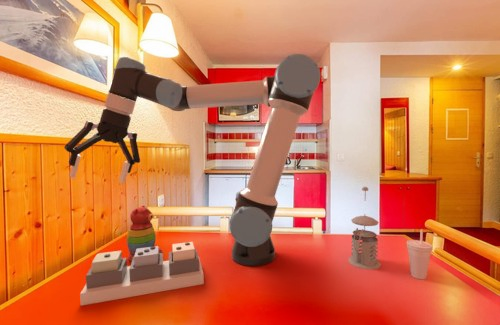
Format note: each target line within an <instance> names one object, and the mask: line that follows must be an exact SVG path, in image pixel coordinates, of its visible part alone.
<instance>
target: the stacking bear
mask: <svg viewBox="0 0 500 325" xmlns="http://www.w3.org/2000/svg"><path fill="white" fill-rule="evenodd" d="M153 217H154V215H153V212H152V211H151V210H150V209H149V208H148V207H145V205H142V206H140V207H135V208H134V209H132V211H131V213H130V216H129V218H130V221H131V223H132V224H131V225H130V226H129V228H128V231H127V236H126V245H127V247H128V252H129V254H128V257H127V260H128V261H129V262H131V263H132V259H133V257H134V255H135V252H136V249H138V248H146V247H154V246H155V245H156V244H155V243H156V236H157V235H156V231H155V229H154V225H153V223H152V222H151V221H152V220H153ZM159 253H163V250H162V249H161V247H159Z"/></svg>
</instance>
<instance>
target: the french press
mask: <svg viewBox="0 0 500 325" xmlns="http://www.w3.org/2000/svg"><path fill="white" fill-rule="evenodd" d="M361 190H362V191H363V192H364V200H366V199H367V198H366V197H367V195H366V194H367V193H366V192H367V191H369V187H367V186H363V187H362V188H361ZM351 223H352V224H355V225H358V226H362V227H363V228H362V229H359V228H358V227H357V228H356V229H355V230H353V231H352V233H353V234H352V235H351V256H350V257H349V258H348V262H349V264H351V265H352V266H354V267H356V268H358V269H364V270H377V269H379V268H381V265H382V264H381V262H379V260H378V249H379V248H378V247H379V246H378V244H379V242H378V241H379V239H378V238H377V235H378V234H377V233H376V232H374V231H371V230H366V227H373V226H374V227H375V226H377V225H378V224H379V221H378V220H377V219H375V218H374V217H371V216H367V215H359V216H355V217H353V218H352V219H351Z"/></svg>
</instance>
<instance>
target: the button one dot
mask: <svg viewBox="0 0 500 325" xmlns="http://www.w3.org/2000/svg"><path fill="white" fill-rule="evenodd" d="M122 258H123V256H122V250H117V251H116V250H115V251H107V252H99V253H97V254H96V255H95V257H94V258H93V259H92V262H91V267H92V273H98V272H105V271H112V270H119V268H120V266H121V263H122Z"/></svg>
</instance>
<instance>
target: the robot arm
mask: <svg viewBox="0 0 500 325" xmlns="http://www.w3.org/2000/svg"><path fill="white" fill-rule="evenodd" d="M146 69H147V68H146V65H145V64H144V63H142V62H141V61H138V60H136V59H134V58H131V57H128V56H125V55H123V56H120V57H119V58H118V59H117V61H116V64H115V67H114V68H113V73H112V78H111V83H110V85H109V89H108V92H107V96H106V99H105V101H104V106H105V108H103V109H102V112H101V116H100V119H99V121H98V122H99V123H95V122H92V121H91V120H86V121H85V123H84V126H83V127H82V128H81V129H80V130H79V131H78V132H77V133H76V134H75V135H74V136H73V137H72V138H71V139H70V140H69V141H68V142H67V143H66V144H65V145H64V149H65V151H66V152H68V153H70V156H69V159H68V164H69V166H70V167H71V168H70V171H69V177H70V178H71V179H73V180H74V179H75V178H76V175H77V172H78V168H79V164H80V161H81V158H82V156H81V155H80V154H81V153H83V152H84V151H85V150H87V149H89V148H90V147H92V146H93V145H95V144H97V143H98V142H101V141H104V142H106V143H109V142H110V143H112V144H118V146H119V147H120V149H121V151H122V154H123V155H124V157H125V158H126V159H125V160H126V161H125V160H124V161H123V164H122V169H121V172H120V175H119V179H118V181H119V182H120V183H121V184H125V183H126V179H127V176H128V174H130V173H131V171H132V168H133V165H135V164H136V163H140V162H141V158H140V152H139V148H138V142H137V138H138V133H136V132H135V131H128V129H129V126H130V123H131V120H132V116H131V115H133V114H134V109H135V106H136V102H137V99H138V98H141V99H144V100H147V101H149V102H153V103H155V104H158V105H160V106H164V107H165V108H168V109H170V110H171V111H173V112H183V111H185V110H189V109H203V108H218V107H234V106H248V105H249V106H250V105H252V106H253V105H265V106H266V107H270V109H269V114H268V117H267V121H266V123H265V127H264V129H263V133H262V136H261V140H260V142H259V147H258V148H257V149H258V150H257V152H256V156H255V159H254V162H253V167H252V168H251V172H250V175H249V178H248V180H247V186H246V187H245V188H243V189H241V190H240V191H238V192H236V194H235V198H234V199H235V206H234V209H233V213H232V215H231V216H230V219H229V231H230V234H231V236H232V238H233V240H234V242H233V245H232V248H231V259H232V260H233V261H234V262H235V263H237V264H240V265H244V266H249V267H250V266H251V267H252V266H253V267H255V266H264V265H267V264H269V263H271V262H273V261H274V260H275V258H276V250H275V245H274V243H273V240H272V237H271V234H272V231H273V221H274V217H275V215H276V211H277V209H278V208H277V207H278V205H279V203H278V200H277V199H276V194H277V190H278V187H279V185H280V182H281V178H282V175H283V172H284V169H285V165H286V163H287V159H288V156H289V153H290V151H291V150H290V149H291V146H292V144H293V140H294V137H295V134H296V132H297V128H298V125H299V122H300V118H301V117H302V116H304V115H305V114H307V113H308V111H309V108H310V106H311V102H312V99H313V96H314V93H315V91H317V89H318V88H319V84H320V82H321V70H320V66H318V64H317V62H316V60H314V59H313V58H312V57H310V56H309V55H306V54H303V53H294V54H290V55H288V56H286V57H284V58H283V59H282V60H281V61H280V63H279V64H278V65H277V67H276V68H275V72H274V75H273V76H272V75H271V76H265V77H264V78H263V79H261V80H250V81H236V82H223V83H221V82H220V83H209V84H208V83H207V84H196V85H195V84H194V85H184V86H182V85H181V83H179V82H177V81H174V80H172V79H170V78H165V77H162V76H159V75H155V74H153V73H149V71H148V72H147V70H146ZM95 129H96V130H97V132H96V133H95V134H94V135H93V136H91V137H89V138H88V139H86V140H85V141H82V140H83V139H85V137H87V135H88V134H89V133H90V132H91V131H94V130H95ZM126 137H127V138H128V139H129V144H130V149H131V152H130V151H129V149H128V146H127V144H126V142H125V140H124V139H125V138H126ZM81 141H82V143H81ZM131 153H132V154H131Z"/></svg>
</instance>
